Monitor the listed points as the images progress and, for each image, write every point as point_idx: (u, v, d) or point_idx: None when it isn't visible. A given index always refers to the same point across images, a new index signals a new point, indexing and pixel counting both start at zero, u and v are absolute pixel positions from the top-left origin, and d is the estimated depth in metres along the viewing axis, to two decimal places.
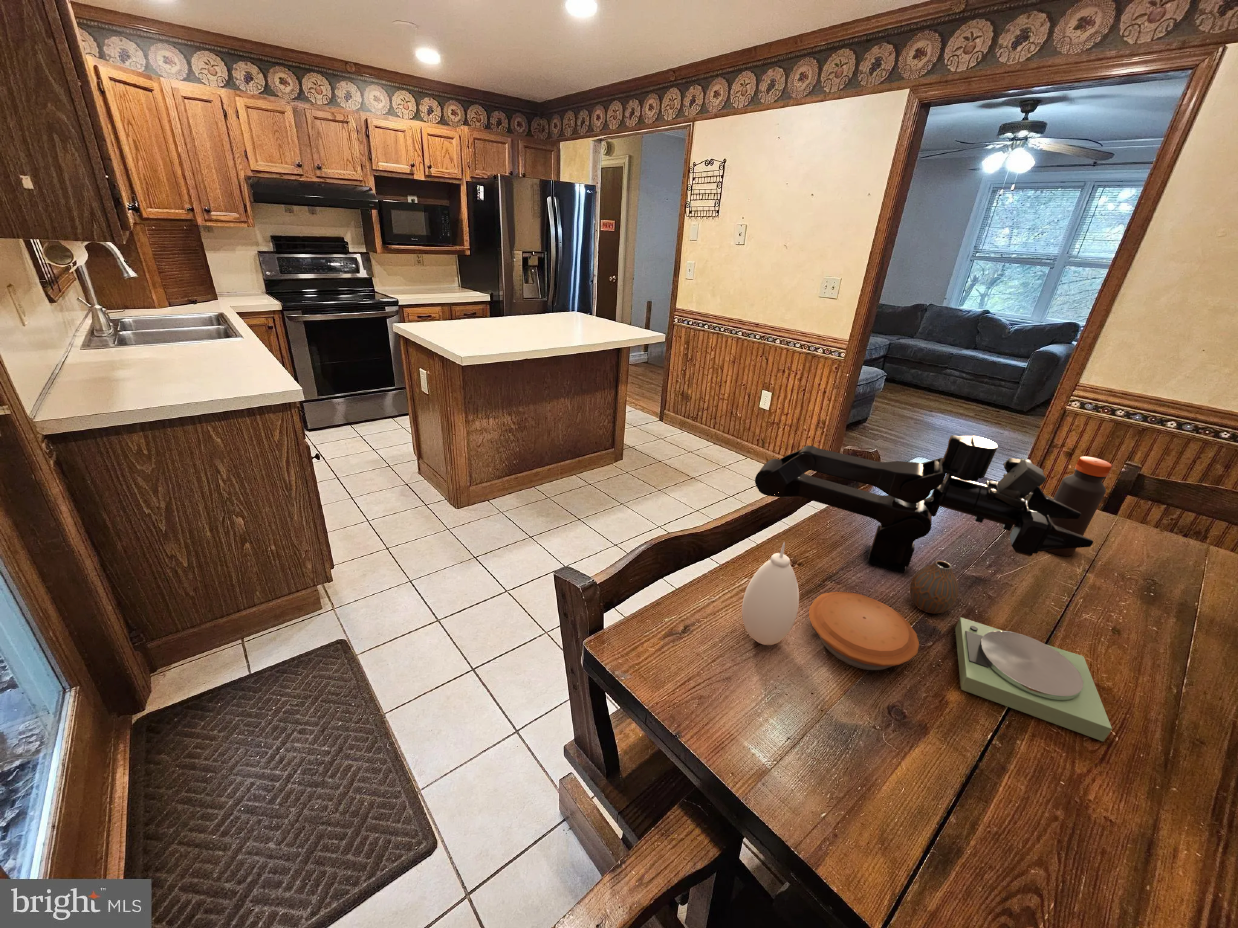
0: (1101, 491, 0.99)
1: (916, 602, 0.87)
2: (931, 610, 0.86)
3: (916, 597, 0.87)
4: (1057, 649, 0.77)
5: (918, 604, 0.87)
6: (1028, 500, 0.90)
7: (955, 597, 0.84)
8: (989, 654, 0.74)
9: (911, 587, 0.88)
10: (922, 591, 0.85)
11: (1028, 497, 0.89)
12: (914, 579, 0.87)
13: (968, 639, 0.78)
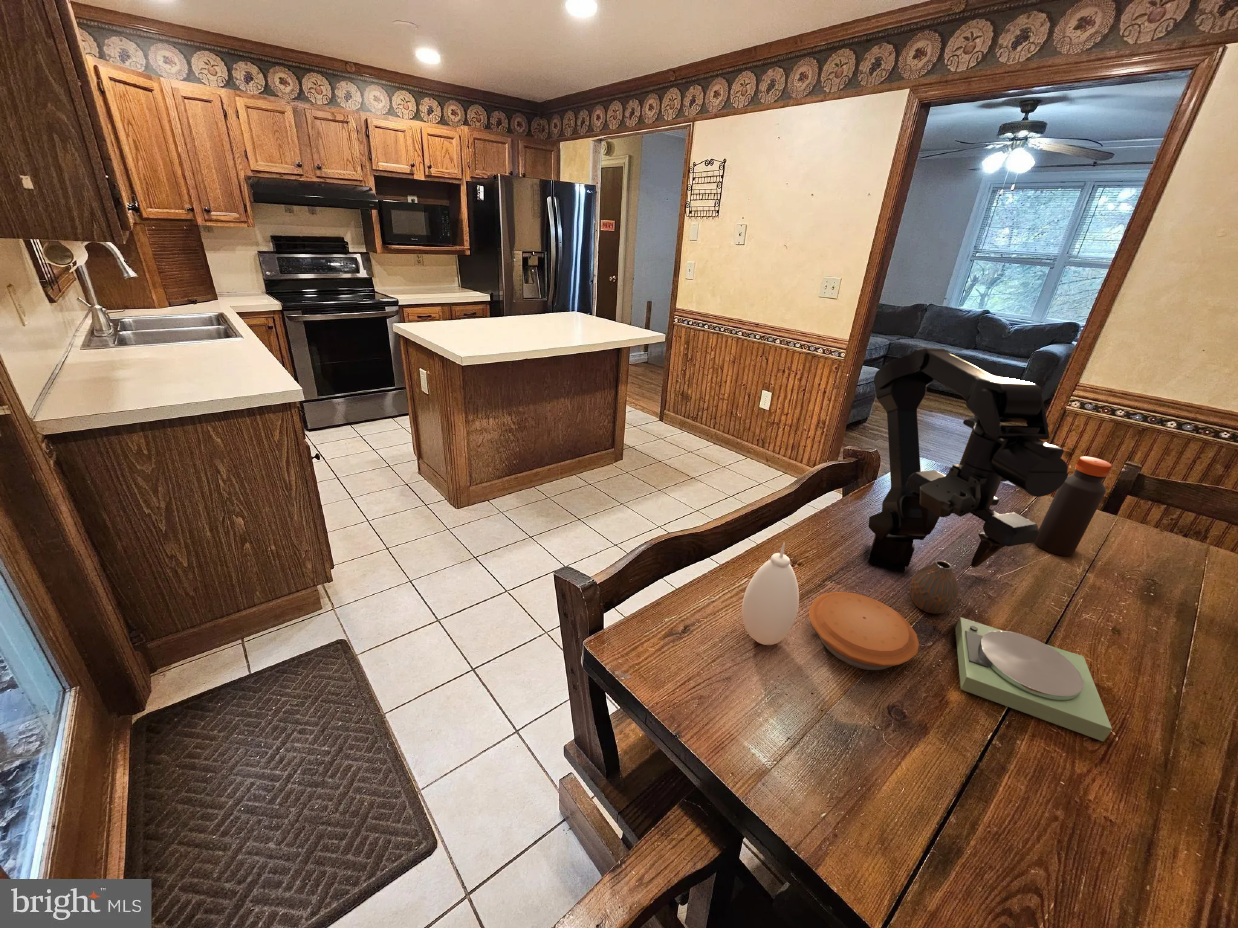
0: (1101, 491, 0.99)
1: (916, 602, 0.87)
2: (931, 610, 0.86)
3: (916, 597, 0.87)
4: (1057, 649, 0.77)
5: (918, 604, 0.87)
6: None
7: (955, 597, 0.84)
8: (989, 654, 0.74)
9: (911, 587, 0.88)
10: (922, 591, 0.85)
11: None
12: (914, 579, 0.87)
13: (968, 639, 0.78)
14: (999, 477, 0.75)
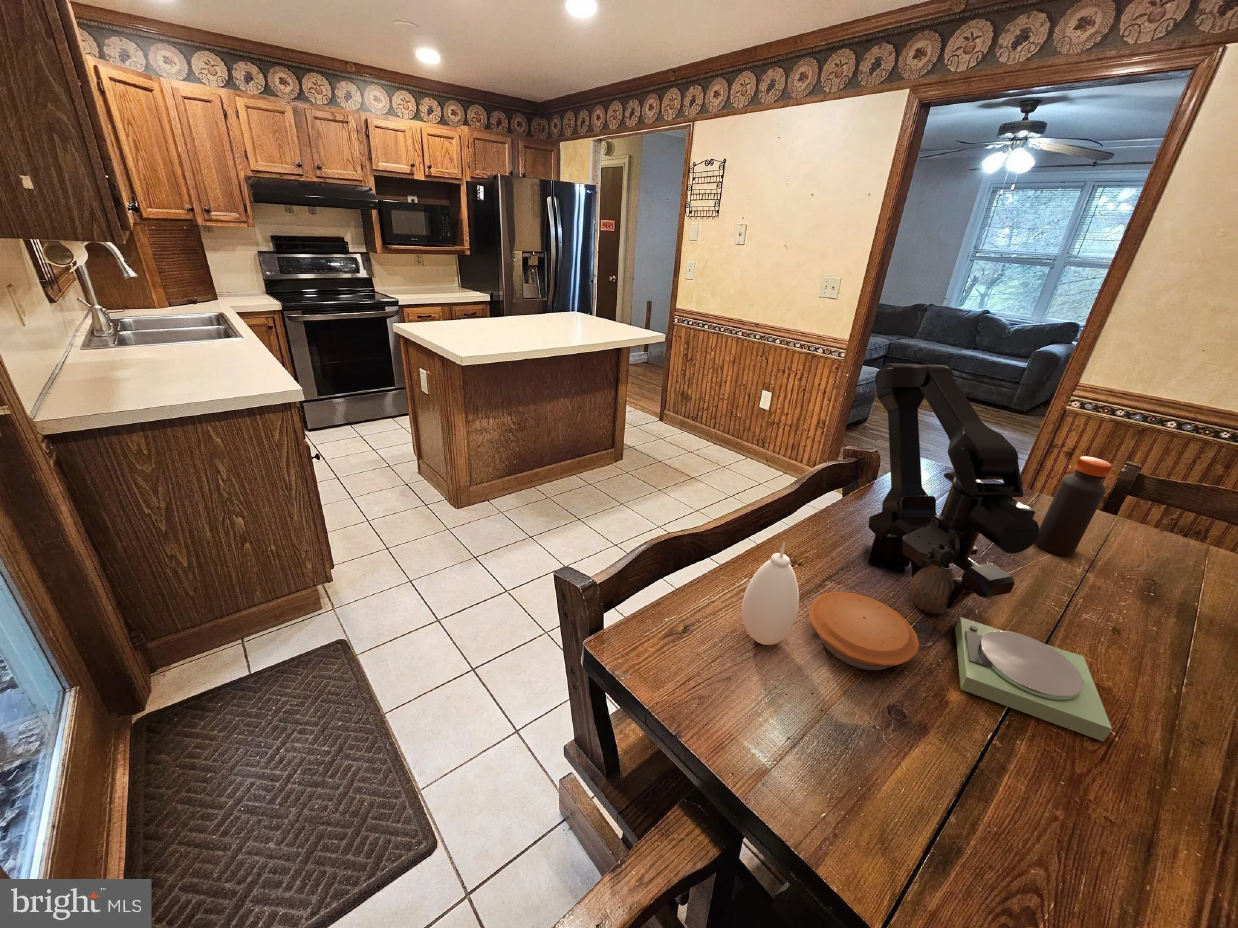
0: (1101, 491, 0.99)
1: (916, 602, 0.87)
2: (931, 610, 0.86)
3: (916, 597, 0.87)
4: (1057, 649, 0.77)
5: (918, 604, 0.87)
6: None
7: None
8: (989, 654, 0.74)
9: (911, 587, 0.88)
10: (922, 591, 0.85)
11: None
12: (914, 579, 0.87)
13: (968, 639, 0.78)
14: None
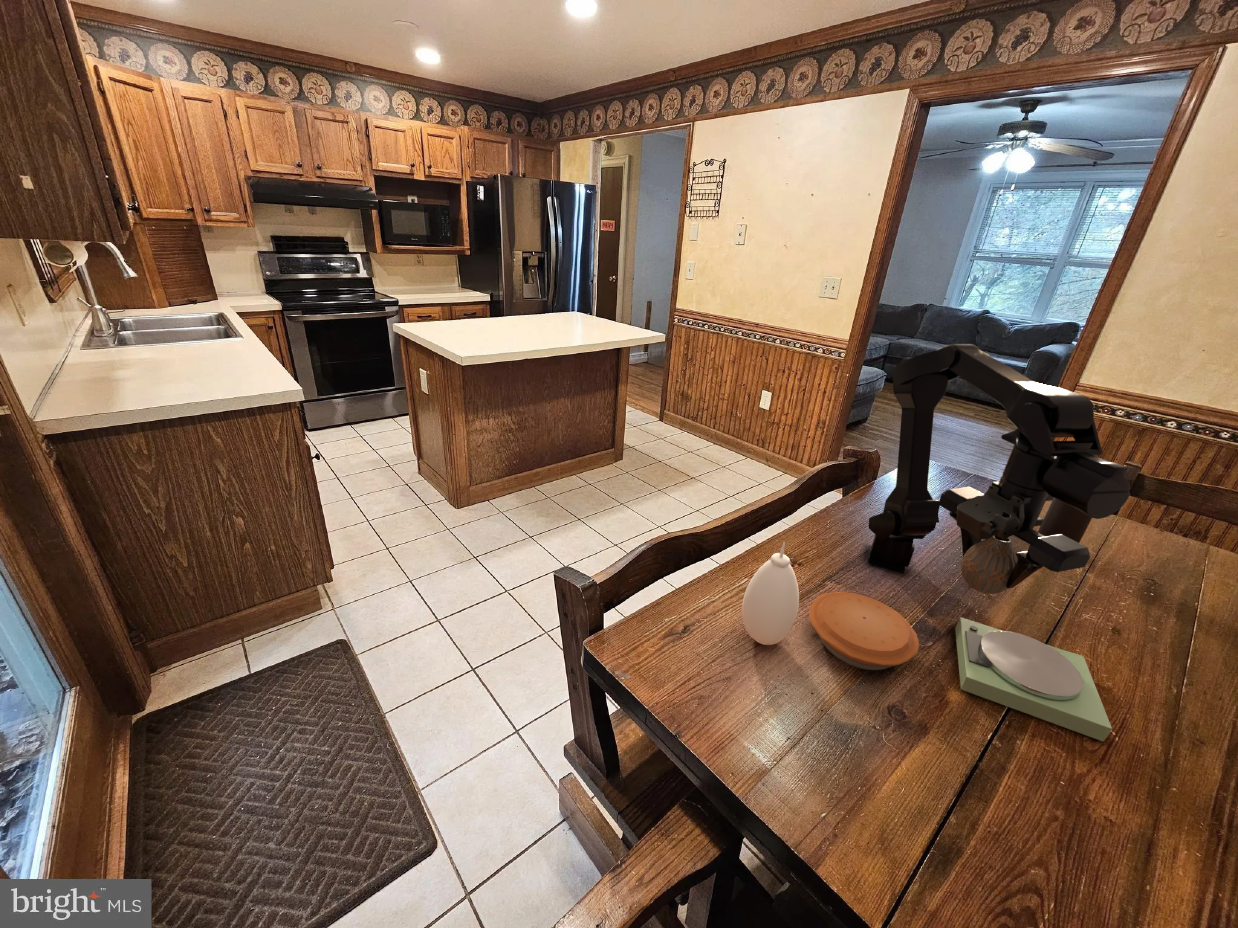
0: None
1: (970, 581, 0.77)
2: (987, 590, 0.76)
3: (970, 575, 0.77)
4: (1057, 649, 0.77)
5: (972, 583, 0.77)
6: None
7: None
8: (989, 654, 0.74)
9: (963, 565, 0.78)
10: (977, 568, 0.76)
11: None
12: (968, 555, 0.78)
13: (968, 639, 0.78)
14: (1045, 496, 0.69)
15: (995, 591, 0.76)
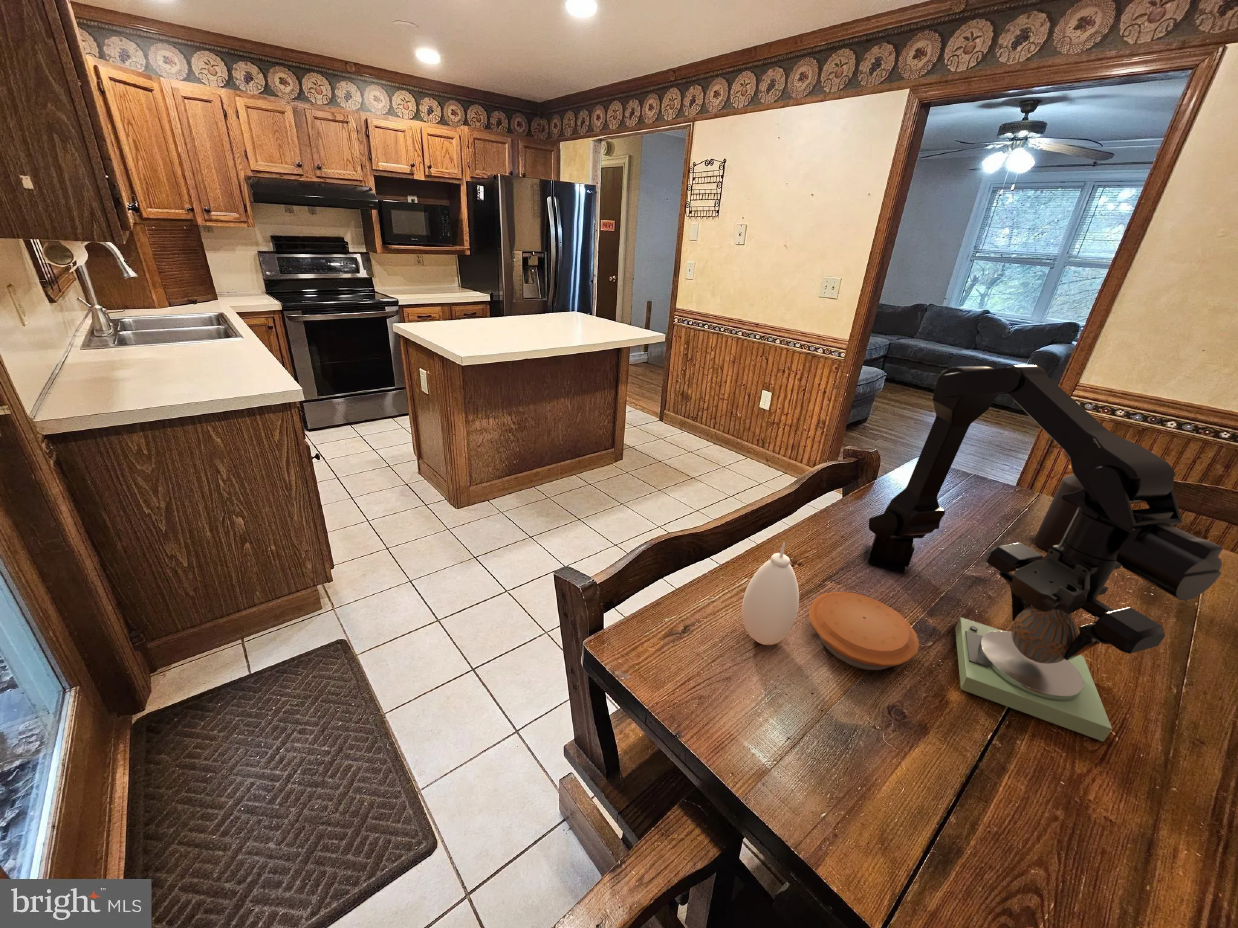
0: None
1: (1022, 649, 0.71)
2: (1043, 660, 0.70)
3: (1023, 643, 0.71)
4: None
5: (1025, 652, 0.71)
6: None
7: None
8: (989, 654, 0.74)
9: (1015, 630, 0.72)
10: (1032, 637, 0.69)
11: (1096, 622, 0.65)
12: (1020, 621, 0.71)
13: (968, 639, 0.78)
14: (1113, 566, 0.63)
15: (1051, 662, 0.70)
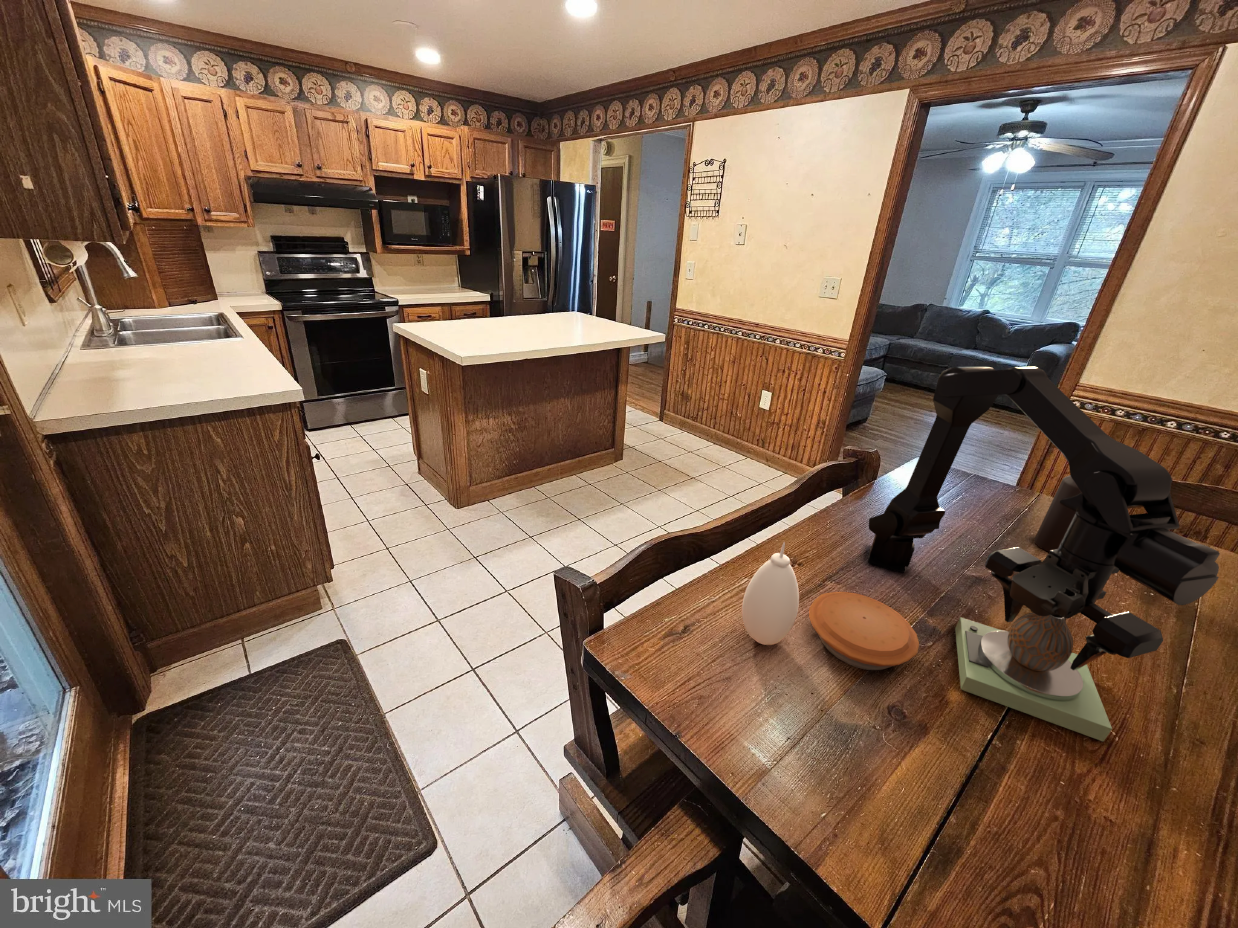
0: None
1: (1018, 657, 0.72)
2: (1038, 668, 0.70)
3: (1019, 651, 0.71)
4: None
5: (1021, 660, 0.72)
6: None
7: (1070, 653, 0.69)
8: (989, 654, 0.74)
9: (1011, 638, 0.73)
10: (1027, 645, 0.70)
11: None
12: (1016, 629, 0.72)
13: (968, 639, 0.78)
14: (1111, 570, 0.63)
15: (1047, 669, 0.70)
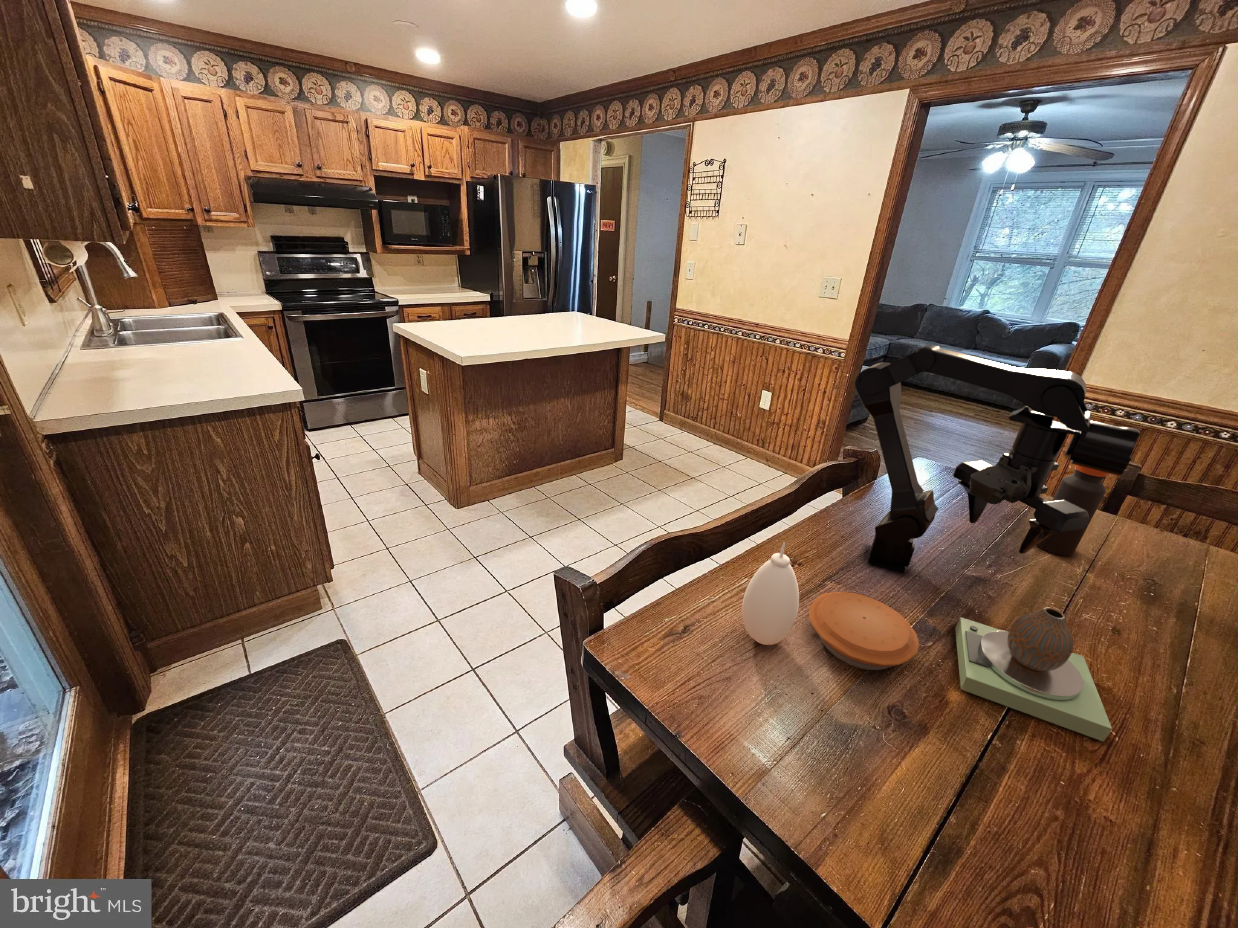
0: (1101, 491, 0.99)
1: (1018, 657, 0.72)
2: (1038, 668, 0.70)
3: (1019, 651, 0.71)
4: None
5: (1021, 660, 0.72)
6: None
7: (1070, 653, 0.69)
8: (989, 654, 0.74)
9: (1011, 638, 0.73)
10: (1027, 645, 0.70)
11: None
12: (1016, 629, 0.72)
13: (968, 639, 0.78)
14: (1050, 466, 0.78)
15: (1047, 669, 0.70)
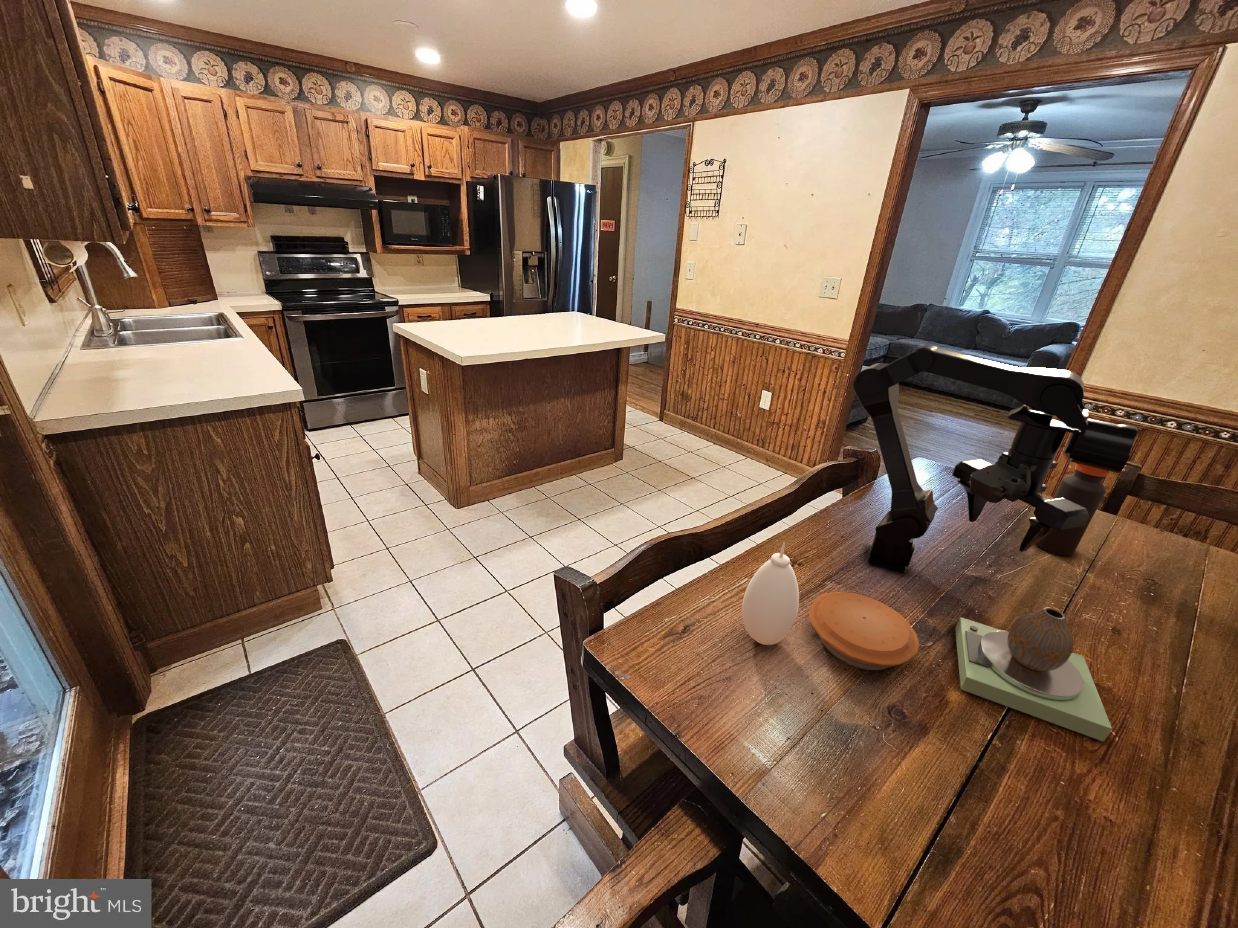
0: (1101, 491, 0.99)
1: (1018, 657, 0.72)
2: (1038, 668, 0.70)
3: (1019, 651, 0.71)
4: None
5: (1021, 660, 0.72)
6: None
7: (1070, 653, 0.69)
8: (989, 654, 0.74)
9: (1011, 638, 0.73)
10: (1027, 645, 0.70)
11: None
12: (1016, 629, 0.72)
13: (968, 639, 0.78)
14: (1049, 464, 0.78)
15: (1047, 669, 0.70)
